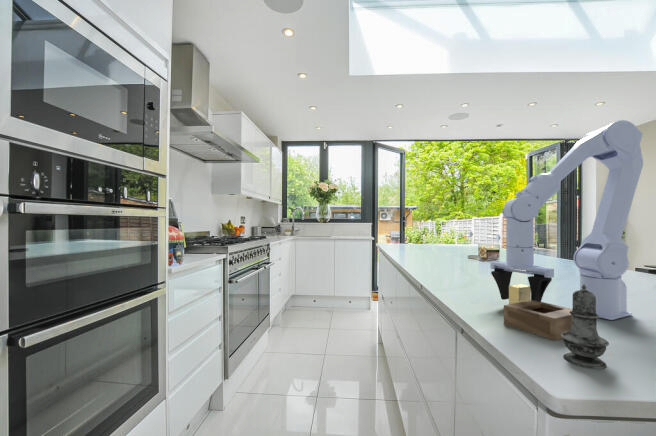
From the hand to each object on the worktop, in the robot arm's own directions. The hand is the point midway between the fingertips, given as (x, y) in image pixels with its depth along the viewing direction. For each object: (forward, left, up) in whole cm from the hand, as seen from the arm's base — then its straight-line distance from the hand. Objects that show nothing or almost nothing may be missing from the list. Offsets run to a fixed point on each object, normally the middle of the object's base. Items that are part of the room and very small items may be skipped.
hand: (519, 302), depth 78 cm
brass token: (0, 0, -2) cm, 2 cm away
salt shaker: (+18, +22, -2) cm, 29 cm away
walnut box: (+8, +10, -2) cm, 13 cm away
